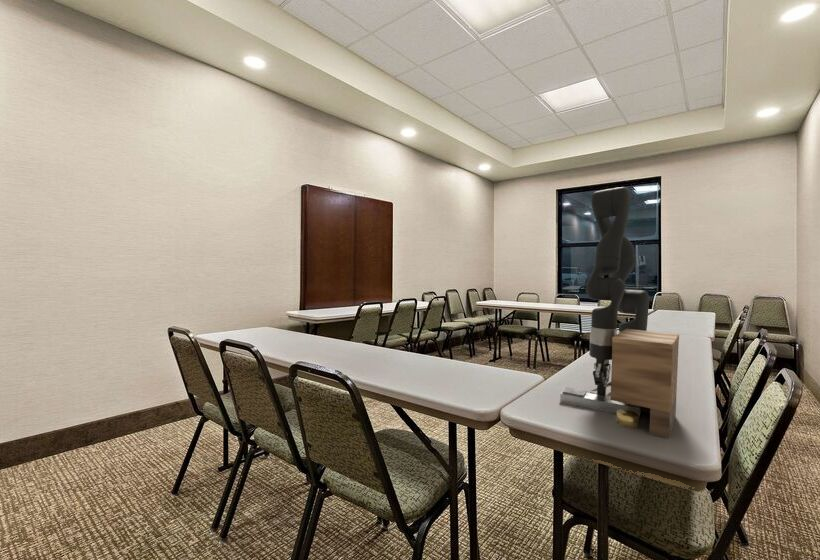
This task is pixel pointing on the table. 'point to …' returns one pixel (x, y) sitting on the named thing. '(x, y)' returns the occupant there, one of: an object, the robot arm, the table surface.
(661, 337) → the wooden grain block
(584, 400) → the bar
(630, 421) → the puck
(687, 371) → the table surface
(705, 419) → the table surface
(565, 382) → the table surface
